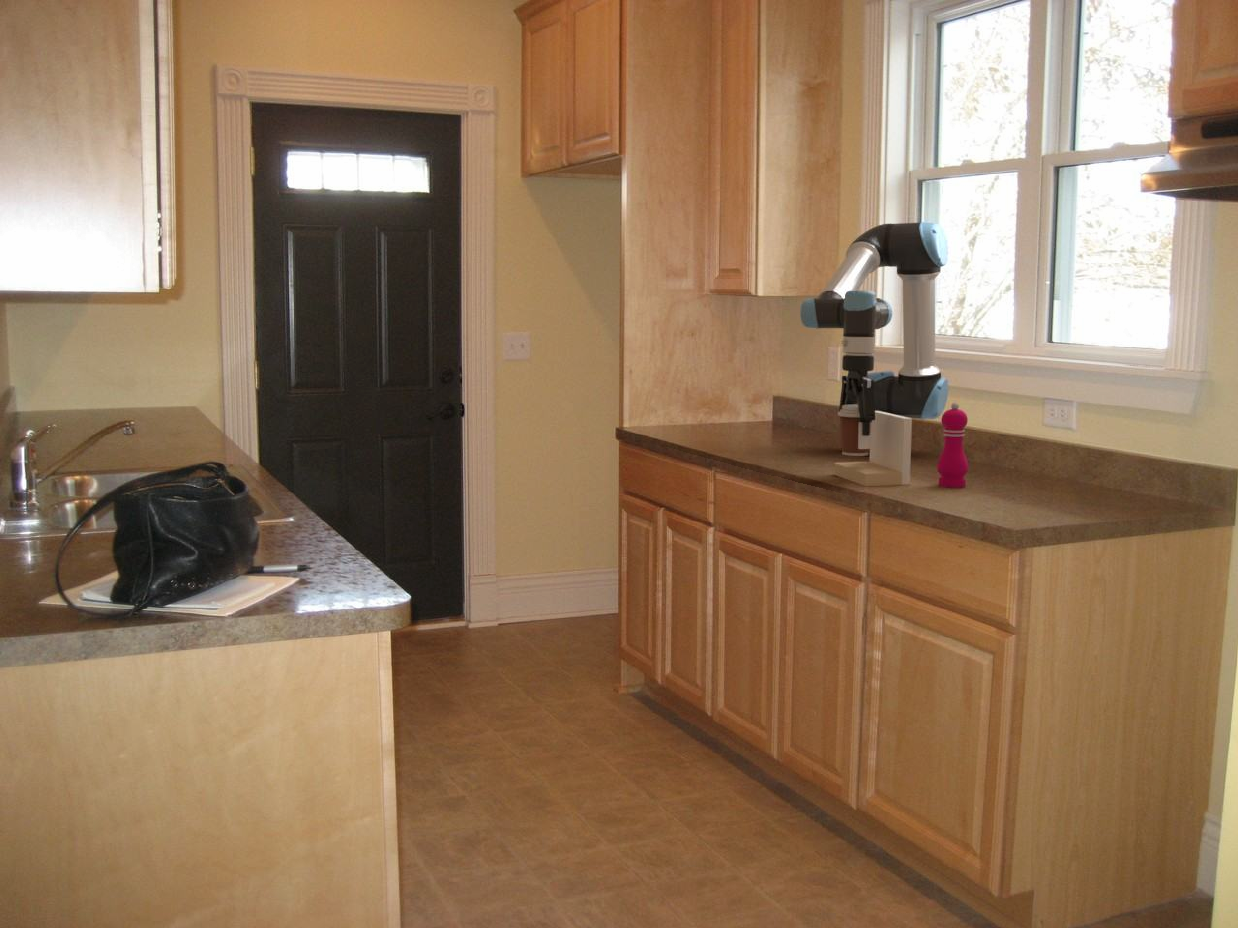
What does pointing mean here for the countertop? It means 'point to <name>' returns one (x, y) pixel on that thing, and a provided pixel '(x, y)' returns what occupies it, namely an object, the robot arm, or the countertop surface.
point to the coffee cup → (851, 430)
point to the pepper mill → (953, 449)
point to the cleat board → (883, 454)
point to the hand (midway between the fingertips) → (855, 446)
